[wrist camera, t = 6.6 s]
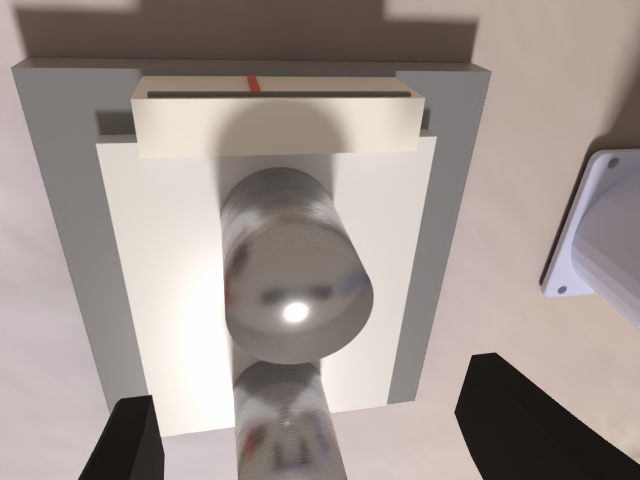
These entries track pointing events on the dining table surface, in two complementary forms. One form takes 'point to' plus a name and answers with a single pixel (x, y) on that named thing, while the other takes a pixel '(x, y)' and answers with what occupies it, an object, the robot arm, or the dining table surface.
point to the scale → (210, 194)
